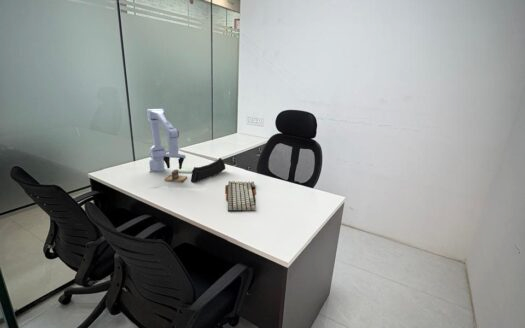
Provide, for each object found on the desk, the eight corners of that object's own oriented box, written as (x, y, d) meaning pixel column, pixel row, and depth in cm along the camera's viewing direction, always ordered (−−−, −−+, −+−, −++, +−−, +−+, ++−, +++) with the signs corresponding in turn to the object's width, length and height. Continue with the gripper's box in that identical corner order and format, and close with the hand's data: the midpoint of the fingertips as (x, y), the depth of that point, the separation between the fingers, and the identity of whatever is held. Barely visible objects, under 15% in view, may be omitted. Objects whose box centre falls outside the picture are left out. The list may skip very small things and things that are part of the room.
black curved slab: (190, 172, 163) (221, 149, 183) (187, 170, 165) (218, 149, 185) (197, 193, 172) (226, 170, 193) (194, 192, 174) (223, 169, 194)
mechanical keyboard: (261, 212, 138) (261, 206, 137) (225, 213, 136) (225, 207, 134) (254, 184, 174) (254, 180, 173) (225, 185, 171) (225, 180, 170)
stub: (164, 180, 169) (164, 171, 167) (169, 176, 176) (168, 167, 175) (183, 182, 168) (182, 173, 167) (187, 177, 176) (186, 169, 174)
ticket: (174, 172, 184) (173, 170, 184) (178, 168, 193) (178, 166, 192) (190, 173, 184) (190, 171, 184) (194, 169, 193) (194, 167, 192)
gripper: (159, 148, 161) (160, 169, 165) (182, 150, 160) (183, 171, 165) (163, 146, 167) (165, 166, 172) (186, 147, 167) (187, 167, 171)
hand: (174, 168), depth 169 cm, fingers open, 7 cm apart
